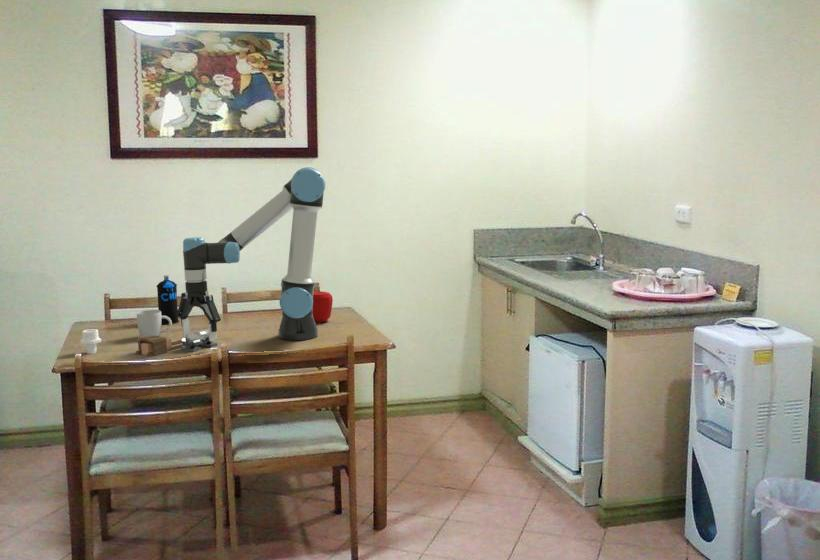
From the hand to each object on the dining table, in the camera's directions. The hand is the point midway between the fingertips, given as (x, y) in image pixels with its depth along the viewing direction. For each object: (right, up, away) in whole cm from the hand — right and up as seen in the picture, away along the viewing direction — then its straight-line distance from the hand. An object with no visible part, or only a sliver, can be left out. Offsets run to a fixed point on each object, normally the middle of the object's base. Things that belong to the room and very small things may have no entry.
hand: (199, 338), depth 283 cm
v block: (0, -3, 0) cm, 3 cm away
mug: (-22, -1, +17) cm, 28 cm away
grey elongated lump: (-1, -1, +1) cm, 2 cm away
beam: (-11, -4, -1) cm, 12 cm away
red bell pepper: (+39, +4, +45) cm, 60 cm away
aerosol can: (-25, +3, +44) cm, 51 cm away
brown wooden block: (-14, -4, -5) cm, 15 cm away
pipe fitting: (-37, -5, -6) cm, 38 cm away
